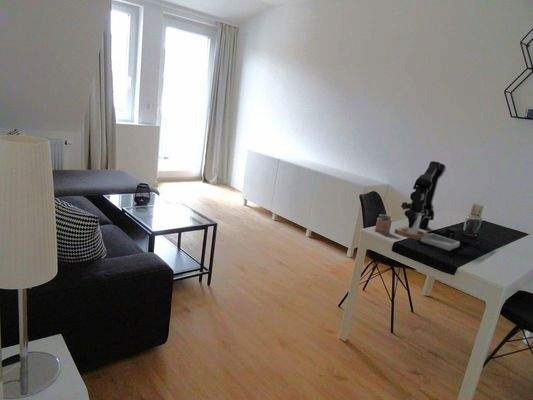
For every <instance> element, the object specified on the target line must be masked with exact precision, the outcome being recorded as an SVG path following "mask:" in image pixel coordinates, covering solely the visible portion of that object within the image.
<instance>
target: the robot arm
mask: <svg viewBox="0 0 533 400" xmlns="http://www.w3.org/2000/svg"><path fill="white" fill-rule="evenodd" d="M446 168H447V166H446V165H445V164H443V163H441V162H439V161H433V160H431V161H430V162H429V164H428V167H427V169H426V170H425V172H424V173H423V174H421V175H419V177H418V178H416V180H415V183H414V185H413V187H412V190H414V191H413V192H411V193H410V196H409V198H410V200H411V202H410V203H409V202H407V201H406V202H405V201H404V202H402V203H401V206H400V207H401V208H402V210H404V213H403V214H404V216H405V217H407V220H408V221H407V222H408V225H409V228H412V226H413V225H414V223H415V222H416V220H417V217H418V214H421V215H422V217H421V221H420V225H419V228H420V229H423V230H428V229H430V226H429V225H430V224H429V223H430V221H434V219H435V210H434V205H433V200H434V197H435V194H436V190H437V188H438V187H437V186H438V183H439V180H440V178H441V177H443V175H444V173H445V172H446V170H447V169H446Z"/></svg>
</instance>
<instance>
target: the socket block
mask: <svg viewBox="0 0 533 400" xmlns="http://www.w3.org/2000/svg"><path fill="white" fill-rule="evenodd" d="M407 229H408V226H402V227H398V228H396V229H395V228H394V234H398V235H400V236H404V237H405V238H409V239H413V240H414V241H419V240H421V237H423V236H425V235H428V234H430V233H429V232H425V231H422V230H419V229H418V232H417V235H414V234H411V233H408V232H407ZM418 234H419V235H418Z"/></svg>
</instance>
